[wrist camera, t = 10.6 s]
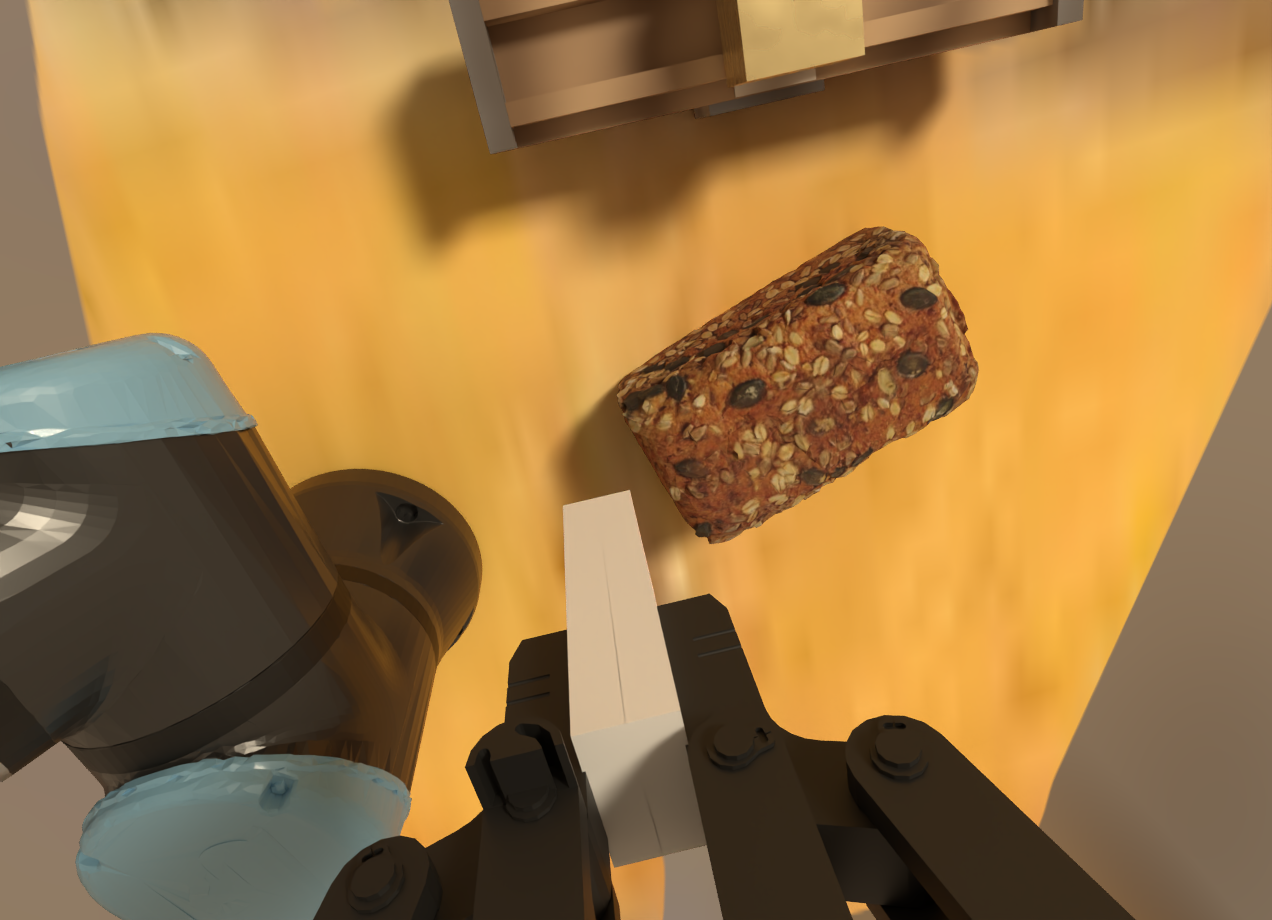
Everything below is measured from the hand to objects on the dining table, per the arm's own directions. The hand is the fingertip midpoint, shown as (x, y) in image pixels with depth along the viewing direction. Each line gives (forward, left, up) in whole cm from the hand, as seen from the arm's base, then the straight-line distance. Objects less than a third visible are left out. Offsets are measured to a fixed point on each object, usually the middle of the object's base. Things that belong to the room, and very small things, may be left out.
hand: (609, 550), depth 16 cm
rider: (+12, +12, -24) cm, 29 cm away
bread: (+11, -7, -30) cm, 33 cm away
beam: (+12, +12, -29) cm, 34 cm away
